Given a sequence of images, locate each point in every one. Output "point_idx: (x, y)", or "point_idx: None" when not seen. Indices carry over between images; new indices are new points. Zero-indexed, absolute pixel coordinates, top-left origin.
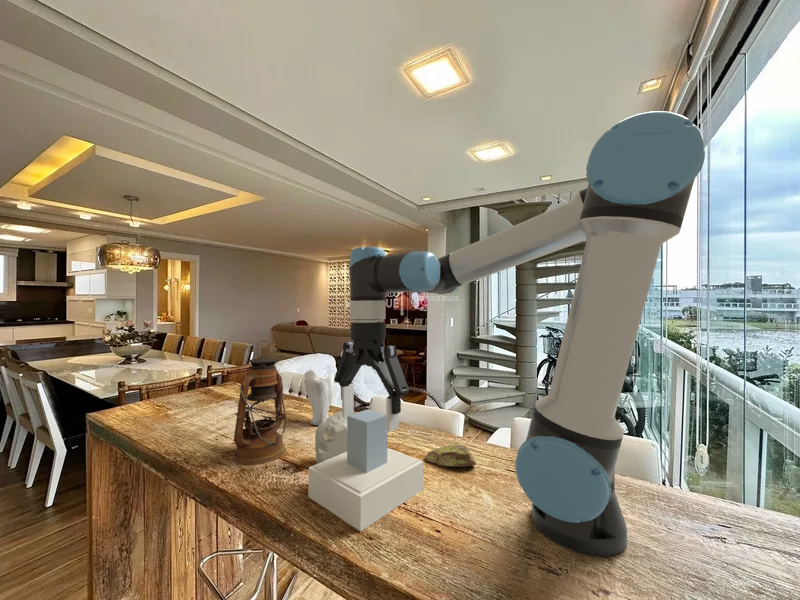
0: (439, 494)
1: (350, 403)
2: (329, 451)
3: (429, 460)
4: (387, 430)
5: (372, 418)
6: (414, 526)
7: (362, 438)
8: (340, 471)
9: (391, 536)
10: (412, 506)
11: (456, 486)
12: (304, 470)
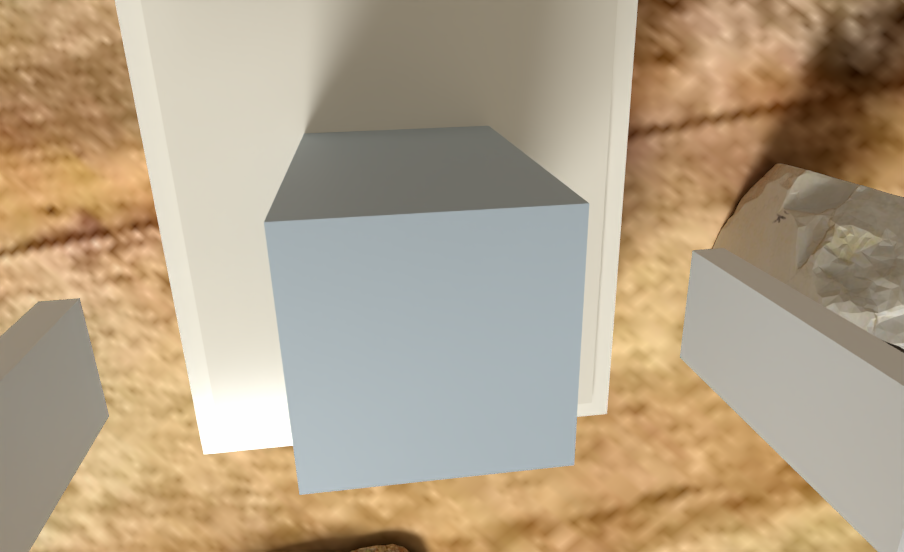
0: (154, 399)
1: (750, 380)
2: (772, 224)
3: (380, 549)
4: (62, 301)
5: (326, 339)
6: (32, 155)
7: (338, 175)
8: (436, 28)
9: (36, 28)
10: (160, 254)
11: (152, 490)
12: (797, 82)
